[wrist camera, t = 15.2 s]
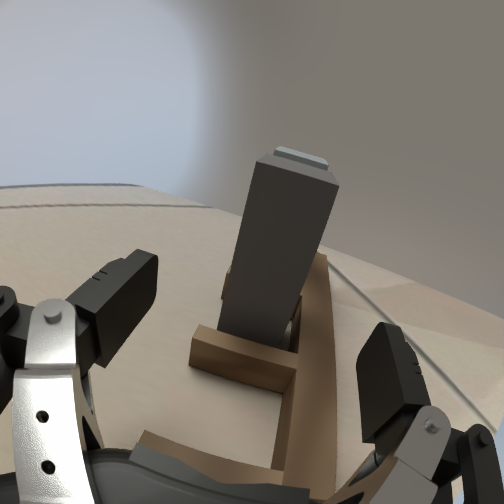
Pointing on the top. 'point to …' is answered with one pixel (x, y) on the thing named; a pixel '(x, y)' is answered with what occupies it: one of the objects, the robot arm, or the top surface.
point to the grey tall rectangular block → (275, 247)
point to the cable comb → (284, 381)
